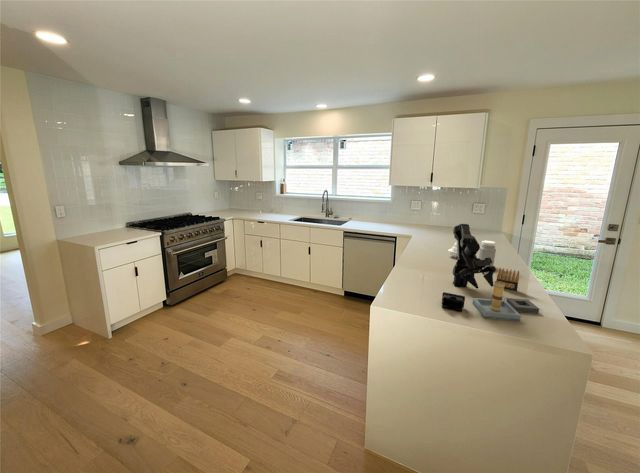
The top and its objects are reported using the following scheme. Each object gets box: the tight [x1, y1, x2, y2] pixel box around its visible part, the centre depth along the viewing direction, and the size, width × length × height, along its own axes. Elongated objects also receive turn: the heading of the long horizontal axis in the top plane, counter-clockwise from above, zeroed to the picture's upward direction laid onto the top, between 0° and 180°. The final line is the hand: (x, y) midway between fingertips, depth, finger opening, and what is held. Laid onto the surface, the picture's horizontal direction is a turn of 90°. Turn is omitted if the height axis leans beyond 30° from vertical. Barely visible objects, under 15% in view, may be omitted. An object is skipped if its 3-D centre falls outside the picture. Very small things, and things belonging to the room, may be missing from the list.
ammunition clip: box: [495, 267, 520, 292], centre depth 162 cm, size 11×2×12 cm, turn 57°
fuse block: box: [506, 297, 540, 314], centre depth 141 cm, size 10×10×2 cm
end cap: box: [441, 291, 466, 313], centre depth 140 cm, size 10×7×7 cm
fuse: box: [490, 280, 505, 312], centre depth 135 cm, size 4×4×14 cm
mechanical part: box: [448, 241, 458, 258], centre depth 220 cm, size 11×12×12 cm
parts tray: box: [472, 297, 522, 322], centre depth 137 cm, size 15×15×3 cm
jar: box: [477, 239, 497, 269], centre depth 199 cm, size 10×10×18 cm
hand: (485, 287), depth 142 cm, fingers open, 9 cm apart
